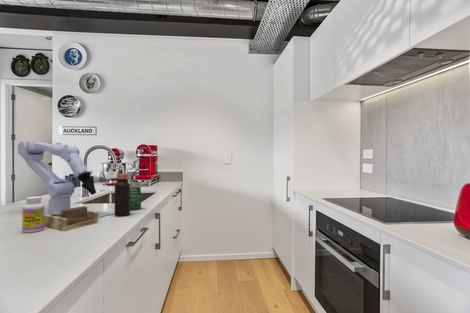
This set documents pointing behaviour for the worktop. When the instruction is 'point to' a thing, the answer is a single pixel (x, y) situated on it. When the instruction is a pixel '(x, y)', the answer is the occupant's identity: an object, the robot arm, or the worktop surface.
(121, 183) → the vinegar
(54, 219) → the oak rack
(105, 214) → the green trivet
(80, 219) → the walnut board
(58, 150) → the robot arm
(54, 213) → the grey offcut
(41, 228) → the supplement bottle
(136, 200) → the coffee box
